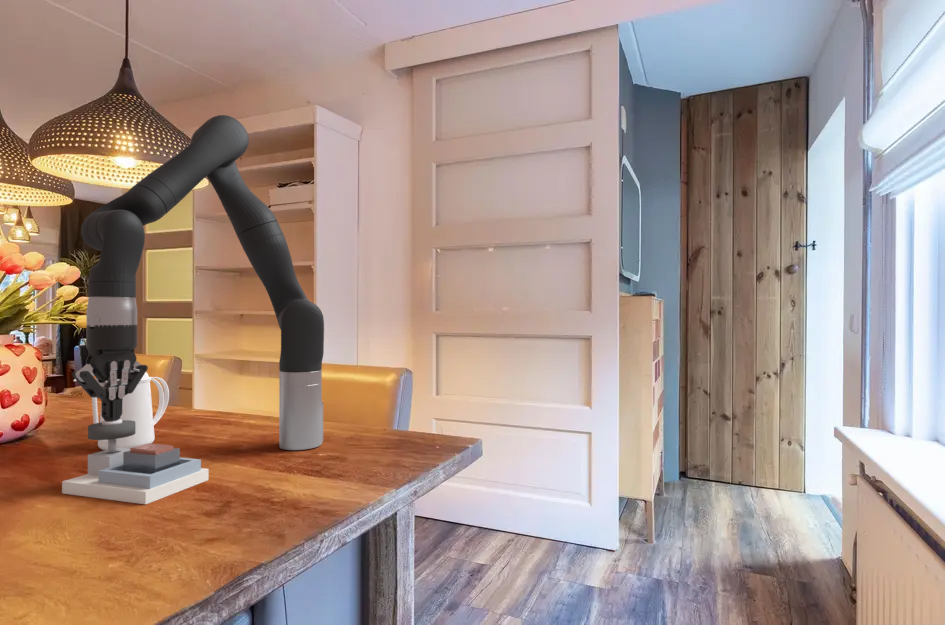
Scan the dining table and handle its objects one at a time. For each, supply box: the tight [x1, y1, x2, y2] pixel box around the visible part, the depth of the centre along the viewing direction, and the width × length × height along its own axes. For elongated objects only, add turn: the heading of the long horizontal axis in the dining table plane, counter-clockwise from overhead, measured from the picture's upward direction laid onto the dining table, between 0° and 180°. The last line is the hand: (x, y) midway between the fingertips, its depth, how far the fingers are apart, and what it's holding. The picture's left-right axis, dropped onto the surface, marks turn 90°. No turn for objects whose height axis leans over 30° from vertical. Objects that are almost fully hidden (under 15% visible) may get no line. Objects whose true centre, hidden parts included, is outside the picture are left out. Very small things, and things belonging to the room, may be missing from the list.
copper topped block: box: [123, 443, 181, 474], centre depth 92 cm, size 5×7×5 cm
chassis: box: [61, 448, 210, 505], centre depth 93 cm, size 13×18×6 cm
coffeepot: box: [73, 371, 170, 451], centre depth 121 cm, size 11×25×19 cm, turn 168°
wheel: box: [87, 419, 135, 454], centre depth 95 cm, size 7×7×6 cm
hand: (111, 420), depth 95 cm, fingers closed
